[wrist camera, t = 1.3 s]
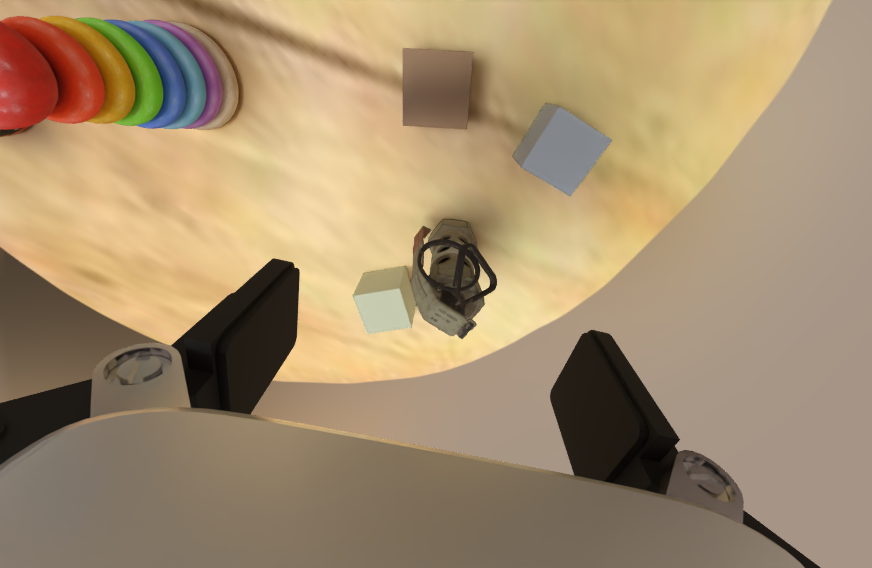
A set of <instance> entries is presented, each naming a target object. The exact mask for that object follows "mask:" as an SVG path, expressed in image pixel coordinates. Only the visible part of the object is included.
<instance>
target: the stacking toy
mask: <svg viewBox="0 0 872 568" xmlns="http://www.w3.org/2000/svg"><path fill="white" fill-rule="evenodd" d="M238 97H239V91H238V83H237V79H236V75H235V73H234V70H233V68H232V65H231V64H230V62H229V60H228V58H227V57H226V55H225V54H224V52H223V51H222V50H221V48H220V47H219V46H218V45H217V44H216V43H215V42H214V41H213V40H212V39H211V38H210V37H208V36H207V35H206V34H204V33H203V32H201V31H200V30H198V29H196V28H194V27H192V26H190V25H188V24H184V23H181V22H175V21H160V20H144V21H127V22H125V21H121V20H100V19H95V18H77V19H72V18H68V17H62V16H47V17H43V18H40V19H36V18H31V17H23V16H17V17H9V18H6V19H4V20H2V21H0V129H3V130H6V129H18V128H24V127H28V126H31V125H34V124H37V123H39V122H41V121H42V120H44V119H45V118H46V119H49V120H52V121H55V122H60V123H67V124H75V123H81V122H85V121H87V122H91V123H98V124H108V123H116V124H120V125H126V126H135V125H136V126H140V127H144V128H165V129H179V128H184V129H192V128H193V129H198V130H210V129H215V128H218V127H220V126H222V125H224V124H225V123H226V122H228V121H229V120H230V119H231V117H232V116H233V114H234V112H235V110H236V108H237V104H238Z"/></svg>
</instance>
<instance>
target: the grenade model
mask: <svg viewBox="0 0 872 568" xmlns="http://www.w3.org/2000/svg"><path fill="white" fill-rule="evenodd" d="M430 231H431V229H429V228H427V227H425V226H423V227H422V228H421V229H420V231H419V232H418V233H417V235H416V236H415V237H414V247H413V271H412V279H411V285H412V290H413V295H414V300H415V302H416V304H417V306H418V309H419V311H420V313H421V315H422V317H423V319H424V320H425V321H427V322H428V323H430V324H432V325H433V326H435V327H437V328H438V329H439V330H441V331H443V332H445V333H446V334H448V335H450V336H454V335H455V334H457V335H458V337H459V338H461V339H463V338H464V337H465V336H466V335H467V333H468V332H469V331H470V330H472V329H473V328H474V327H475V326H476V323H475V321H473V320H472V318H473V317H474V316H475V315H476V314H477V313H478V312H479V311H480V310H481V308H482V307H483V306H484V305H485V303H484V296H486V295H487V294H489V293H491V292H492V291H494V290H495V288H496V286H497V279H496V275H495V274H494V272H493V271H492V269H491V268H490V267H489V265H488V264H487V262H486V261H485V259H484V258H483V256H482V255H481V254H480V252H479V251H478V249H477V243H476V241H475V238H474V235H473V233H472V231H471V228H470V226H469V224H468V222H464V221H458V220H448V219H443V220H442V221H441V222H440V223H439V224H438V226H437V227H436V228H435V229H434V231H433V232H432V234H431V235H430V237H429V239H428V242H427V243H426V244H425V245H424V242H423V238H425V237H426V236H427V235H428V233H429V232H430ZM428 248H430V250H431V253H432V260H431V267H430V275H429V276H428V275H427V274H426V273H425V271H424V270H423V264H424V252H425V250H427V249H428ZM478 262H479V263H478ZM479 264H480V265H481V267H482V268H483V269H484V271H485V272H486V274H487V275H488V276H489V278H490V286H489V288H488V289H486V290H484V291H482V290H481V288H480V285H479V283H478V279H479V276H480V266H479ZM473 265H474V267H473ZM474 268H475V274H474Z"/></svg>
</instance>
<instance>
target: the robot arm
mask: <svg viewBox="0 0 872 568" xmlns="http://www.w3.org/2000/svg"><path fill="white" fill-rule="evenodd" d="M299 274H300V273H299V269H298V268H294V264H293V263H292V262H288V261H283V260H279V259H272V260H271V261H270V262H268V263H267V264H266V265H265V266H264V267H263V268H262V269H261V270H259V271H258V272H257V273H256V274H255V275H254V276H253V277H252V278H250V279H249V280H248V281H247V282H246V283H245V284H244V285H243V286H242V287H240V288H239V289H238V290H237V291H236V292H235V293H231V294H230V295H228V296H227V297H226V298H225V299H224V300H222V301H221V302H220V303H219V304H218V305H217V306H216V307H214V308H213V309H212V310H211V311H210V312H209V313H208V314H207V315H205V316H204V317H203V318H202V319H201V320H200V321H199V322H197V323H196V324H195V325H194V326H193V327H192V328H191V329H189V330H188V331H187V332H186V333H185V334H184V335H183V336H181V337H180V338H179V339H178V340H177V341H176V342H175V343H174V344H172V345H171V346H170V345H166V344H162V343H144V344H137V345H133V346H129V347H125V348H123V349H120V350H118V351H116V352H114V353H112V354H110V355H109V356H107V357H106V358H104V359H102V360H101V362H100V363H99V364H98V365H97V366H96V367H95V369H94V372H93V375H92V379H90V380H86V381H82V382H79V383H75V384H71V385H67V386H64V387H60V388H56V389H52V390H48V391H44V392H41V393H37V394H33V395H29V396H26V397H22V398H18V399H14V400H10V401H7V402H3V403H0V568H820V567H819V566H818V565H816V564H815V563H814V562H812V561H811V560H809V559H808V558H807V557H805V556H804V555H803V554H802V553H800V552H799V551H797V550H796V549H795V548H793V547H792V546H791V545H789V544H788V543H787V542H785V541H784V540H783V539H781V538H780V537H779V536H777V535H776V534H775V533H773V532H772V531H771V530H769V529H768V528H767V527H765V526H764V525H763V524H761V523H760V522H759V521H757V520H756V519H755V518H753V517H752V516H751V515H749V514H748V513H747V512H745V511H744V510H743V502H744V501H743V496H742V493H741V491H740V489H739V488H738V486H737V484H736V483H735V482H734V480H733V479H732V478H731V477H730V475H729V474H728V473H727V472H725V471H724V470H723V469H722V468H721V467H720V466H719V465H717V464H716V463H714V462H713V461H712V460H710V459H709V458H707V457H705V456H704V455H702V454H699V453H696V452H694V451H689V450H683V451H680V452H678V451H677V449H676V448H675V445H676V444H677V442H678V441H679V440H680V439H679V438H678V436H677V434H676V433H675V431H674V430H673V428H672V427H671V425H670V424H669V422H668V421H667V419H666V418H665V416H664V415H663V413H662V412H661V410H660V409H659V407H658V406H657V404H656V403H655V401H654V400H653V398H652V397H651V395H650V394H649V392H648V391H647V389H646V387H645V386H644V385H643V383H642V381H641V380H640V378H639V377H638V375H637V374H636V373H635V371H634V369H633V368H632V366H631V365H630V363H629V362H628V360H627V359H626V357H625V356H624V354H623V353H622V351H621V350H620V348H619V347H618V345H617V344H616V342H615V341H614V339H613V338H612V336H611V335H610V334H608V333H604V332H599V331H595V330H590V331H589V332H587V333H584V334H582V336H581V337H580V339H579V341H578V343H577V344H576V346H575V348H574V350H573V352H572V353H571V355H570V357H569V359H568V361H567V363H566V364H565V366H564V368H563V370H562V372H561V374H560V375H559V377H558V379H557V381H556V383H555V384H554V386H553V388H552V390H551V394H550V399H551V403H552V406H553V410H554V413H555V416H556V419H557V422H558V425H559V429H560V431H561V435H562V438H563V441H564V444H565V447H566V450H567V454H568V456H569V460H570V463H571V466H572V469H573V472H574V475H575V476H574V475H569V474H564V473H559V472H554V471H549V470H544V469H539V468H533V467H528V466H523V465H518V464H514V463H508V462H503V461H498V460H493V459H488V458H483V457H477V456H472V455H467V454H462V453H457V452H451V451H446V450H441V449H436V448H431V447H425V446H420V445H415V444H410V443H405V442H399V441H394V440H389V439H383V438H377V437H373V436H367V435H362V434H356V433H351V432H346V431H340V430H335V429H330V428H324V427H319V426H314V425H308V424H302V423H297V422H291V421H285V420H279V419H273V418H268V417H262V416H256V415H250V414H251V412H252V411H253V409H254V408H255V406H256V404H257V403H258V401H259V400H260V398H261V396H262V395H263V394H264V392H265V391H266V389H267V387H268V386H269V384H270V383H271V381H272V380H273V378H274V377H275V375H276V373H277V372H278V370H279V369H280V367H281V366H282V364H283V362H284V361H285V359H286V358H287V356H288V355H289V353H290V352H291V350H292V348H293V347H294V345H295V342H296V338H297V320H298V297H299Z"/></svg>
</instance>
